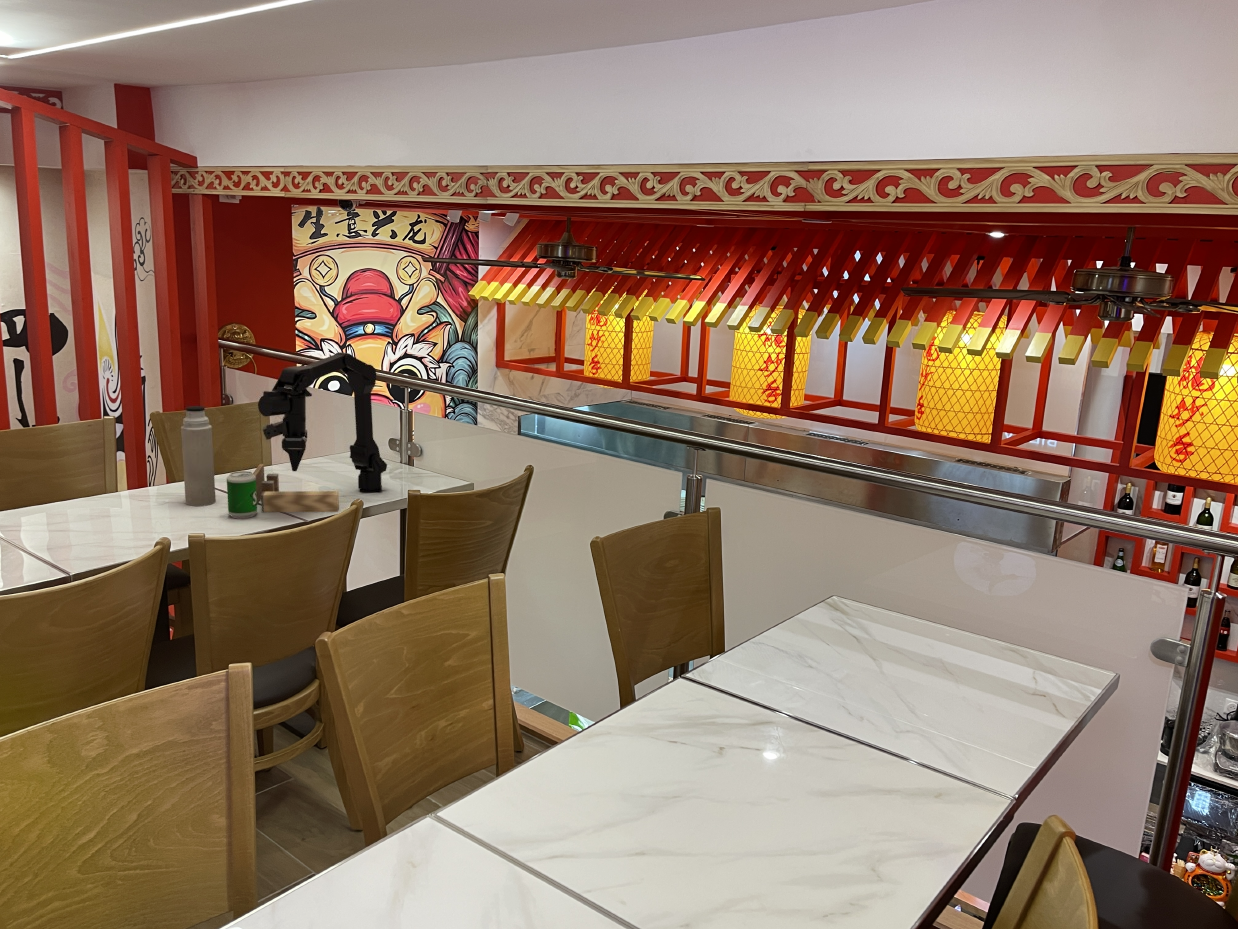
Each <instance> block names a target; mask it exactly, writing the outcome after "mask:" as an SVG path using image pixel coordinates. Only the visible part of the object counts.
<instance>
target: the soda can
mask: <svg viewBox="0 0 1238 929" xmlns="http://www.w3.org/2000/svg"><path fill="white" fill-rule="evenodd" d="M253 473H254V472H253V471H247V470H241V471H240V470H238V471H233V472H231V473H229V475H227V477H226V491H227V495H226V496H227V509H228V510H227V512H228V514H229V515H230V516H231V517H232V518H234V519H249V518H253V517H254V516H255V515H256V514H257V513H258V505H257V491H256V476H255V475H254V474H253Z"/></svg>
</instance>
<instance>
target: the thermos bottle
mask: <svg viewBox="0 0 1238 929" xmlns="http://www.w3.org/2000/svg"><path fill="white" fill-rule="evenodd" d="M205 409H206V408H205V406H201V405H195V406H194V405H191V406H186V407H185V411H186V412H185V414H186V416H185V418H183V420H182V424H183V425H182V426H181V427H180V431H181V432H180V433H181V434H180V435H181V448H182V450H181V451H182V464H183V465H182V466H183V481H184V499H185V500H184V501H185V504H186V505H187V504H188V505H187V506H190V505H193V506H192V507H202V506H204V505H205V506H210V505H212V504H215V503H216V502H217V500H216V498H217V497H216V485H215V484H216V482H215V470H214V468H215V467H214V466H215V465H214V447H213V446H214V445H213V444H214V443H213V426H212V425H211V424H210V420H209V417H208V416H206V412H205Z"/></svg>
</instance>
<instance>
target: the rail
mask: <svg viewBox="0 0 1238 929" xmlns="http://www.w3.org/2000/svg"><path fill="white" fill-rule="evenodd" d="M339 497H340V496H339V491H338V490H333V491H332V490H326V491H325V490H324V491H323V490H321V491H320V490H319V491H318V490H315V491H314V490H312V491H311V490H310V491H308V490H307V491H300V490H299V491H298V490H294V491H290V490H289V491H280V490H279V492H263V493H262V494H261V500H260V503H261V504H260V505H261V506H260V507H261V508H260V509H261V510H260V511H261V513H315V512H316V513H318V512H319V513H320V512H322V513H323V512H324V513H325V512H328V513H329V512H331V513H333V512H338V511H339V508H340V506H339V501H340V499H339Z"/></svg>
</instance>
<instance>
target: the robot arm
mask: <svg viewBox="0 0 1238 929" xmlns="http://www.w3.org/2000/svg"><path fill="white" fill-rule="evenodd" d="M337 371H341V372H342V373H343V374H344V375H346V379H347V382H348V385H349V387H350V389H351V390H352V392H353V395H354V400H353V401H354V414H355V415H354V417H355V435H356V439H355V441H354V443H353V444H351V445H349V451H350V454H349V458H350V459H351V462H352V463H353V465H354V469H355V470H356V471H359V473H358V475H357V480H358V482H357V483H358V490H359V493H373V492H374V493H375V492H376V491H381V490H382V491H383V485H382V473H384V472H386V471H387V468H388V464H387V462H385V461H384V460H383V458H382V457H381V454H380V449H379V446H378V444H377V442H376V440H375V439H374V430H373V429H374V428H373V426H374V425H373V410H372V409H373V407H372V392H373V389H374V388H375V386H376V381H377V369H376V368H375V367H374V365H372V364H368V363H366V362H364V361H362V360H360V359H358V358H356V357H355V356H354V355H352V354H350V353H348V352H340V351H339V352H335V353H334V354H333V355H331V356H330V355H329V356H328V357H327V356H326V357H325V358H322V359H320V360H318V361H314V362H312V363H309V364H307V365H295V366H289V367H288V366H287V367H285V368H283V369H282V370H281V373H280V375H279V377H278V379H277V381H276V382H275V384H274V386H273V388H272V389H271V391H270V390H264V391H263V392H262V394H263V395H262V396H261V397H260V398H259V400H258V403H257V408H258V412H259V413H260V415H262V416H263V417H265V418H266V417H274V416H280V415H281V416H282V420H281V421H277V422H274V423H272V422H271V423H270V424H266V425H265V426H263V427H262V429H261V430H262V432H263V435H264V437H265V439H266V441H268V440H272V438H274V437H278V436H281V435H282V437H283V438H281V439H282V440H281V449H282V451H285V452H286V453H287V455H288V457H289V458H288V459H289V462H290V466H291V471H292V472H297V471H298V469H299V466H300V463H301V461H302V459H303V457H304V454H305V452H306V449H307V441H308V429H306V428H307V426H306V425H307V424H306V423H307V422H306V420H307V414H306V413H307V412H306V411H307V408H306V407H307V406H306V405H307V402H306V400H307V398H309V397H312V396H313V394H312V393H311V392H310V391H309V389H308V388H309V387H311V386H312V385H313V384H314V382H315V381H316V380H318V379H319V378H322V377H324V376H325V377H326V376H327V375H328V376H329V375H330V374H333V373H335V372H337ZM382 491H381V492H382ZM376 493H377V492H376Z"/></svg>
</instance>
